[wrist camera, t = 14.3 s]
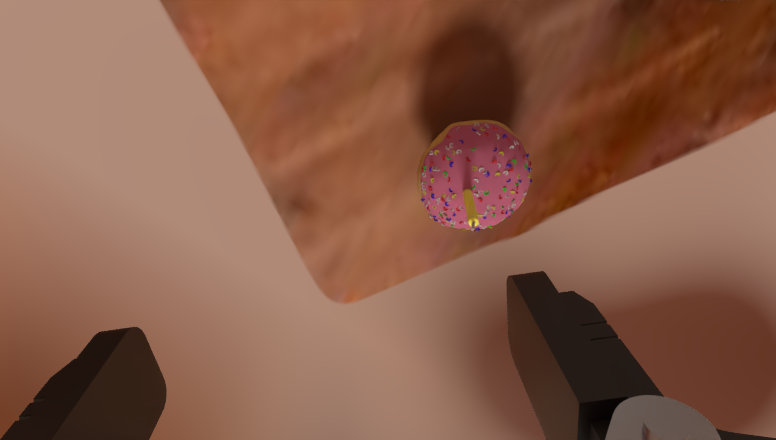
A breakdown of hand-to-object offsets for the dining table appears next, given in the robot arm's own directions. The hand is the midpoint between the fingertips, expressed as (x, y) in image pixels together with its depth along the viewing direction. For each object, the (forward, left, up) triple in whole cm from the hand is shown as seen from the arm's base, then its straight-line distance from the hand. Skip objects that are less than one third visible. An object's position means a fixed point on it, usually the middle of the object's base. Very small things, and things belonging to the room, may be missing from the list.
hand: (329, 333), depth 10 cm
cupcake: (-9, +6, -29) cm, 31 cm away
